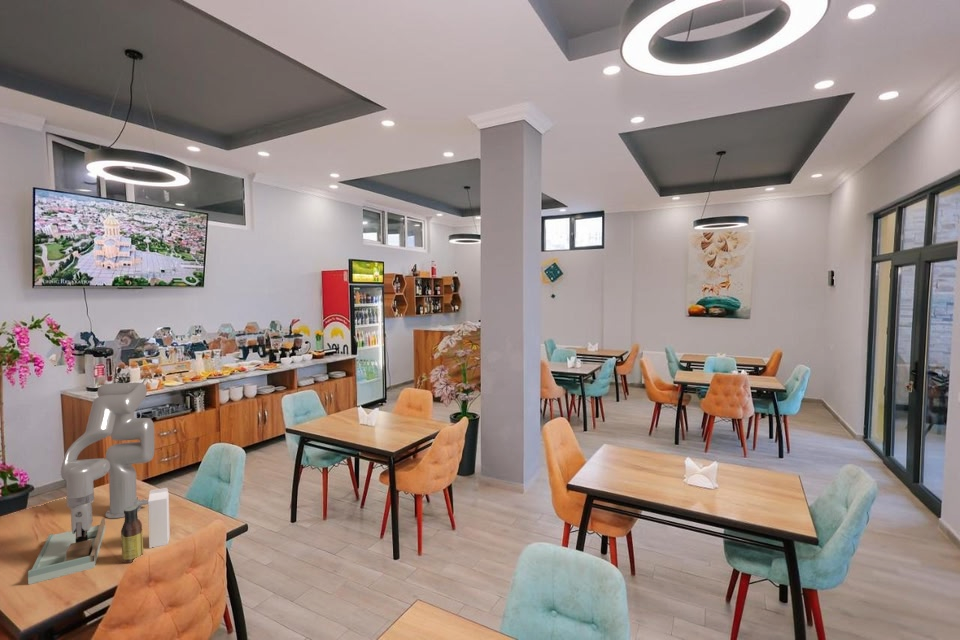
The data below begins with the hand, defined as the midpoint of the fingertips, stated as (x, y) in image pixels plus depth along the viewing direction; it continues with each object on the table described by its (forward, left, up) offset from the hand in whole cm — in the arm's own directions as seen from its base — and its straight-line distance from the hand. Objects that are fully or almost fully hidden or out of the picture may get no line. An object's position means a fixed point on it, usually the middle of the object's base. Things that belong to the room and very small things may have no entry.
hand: (81, 546), depth 167 cm
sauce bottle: (-16, +13, -4) cm, 21 cm away
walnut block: (0, +5, -1) cm, 5 cm away
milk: (-24, +5, -4) cm, 25 cm away
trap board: (+4, -4, -4) cm, 6 cm away
